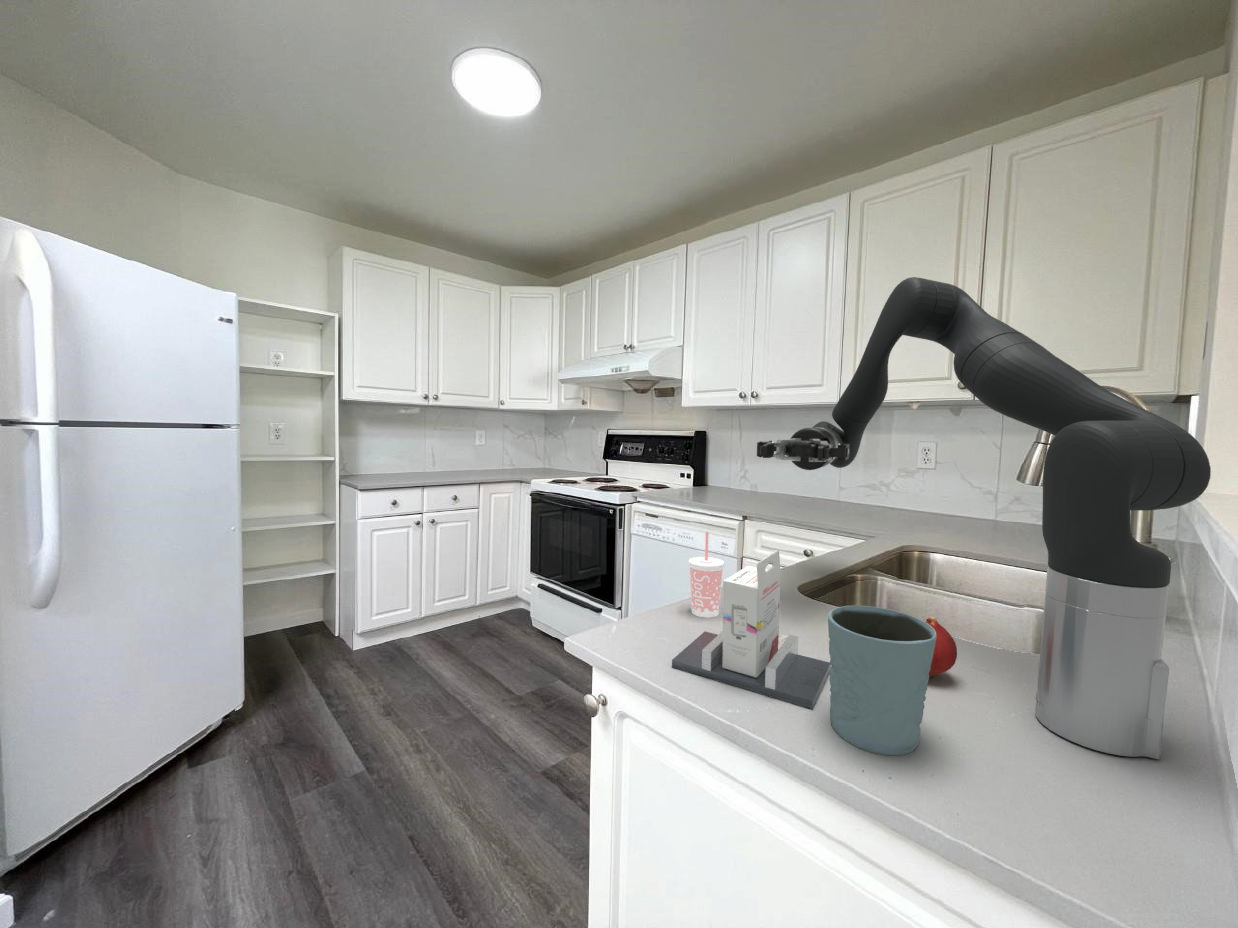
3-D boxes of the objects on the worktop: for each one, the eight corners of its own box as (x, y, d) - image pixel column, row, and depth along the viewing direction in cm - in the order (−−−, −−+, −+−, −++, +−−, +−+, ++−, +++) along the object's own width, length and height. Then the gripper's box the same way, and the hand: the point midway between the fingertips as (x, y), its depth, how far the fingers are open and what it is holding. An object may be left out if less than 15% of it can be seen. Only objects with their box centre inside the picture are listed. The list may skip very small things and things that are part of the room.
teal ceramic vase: (806, 725, 55) (810, 619, 54) (848, 693, 62) (853, 597, 61) (907, 775, 48) (915, 652, 47) (943, 731, 54) (950, 623, 53)
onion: (906, 660, 70) (909, 604, 70) (956, 673, 67) (960, 614, 66) (900, 678, 66) (904, 618, 65) (954, 692, 62) (958, 629, 61)
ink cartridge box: (744, 644, 73) (747, 543, 71) (779, 653, 70) (782, 549, 69) (719, 668, 66) (722, 556, 64) (756, 679, 63) (760, 563, 62)
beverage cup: (679, 611, 88) (681, 531, 87) (703, 603, 92) (705, 527, 90) (706, 622, 83) (708, 538, 82) (730, 613, 87) (733, 533, 86)
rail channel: (830, 669, 68) (831, 644, 67) (812, 709, 58) (813, 680, 58) (704, 637, 77) (705, 615, 77) (671, 666, 68) (672, 641, 68)
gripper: (776, 426, 97) (748, 427, 83) (857, 428, 89) (841, 429, 75) (774, 466, 97) (746, 473, 84) (855, 470, 90) (839, 479, 76)
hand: (791, 452), depth 80 cm, fingers open, 8 cm apart
